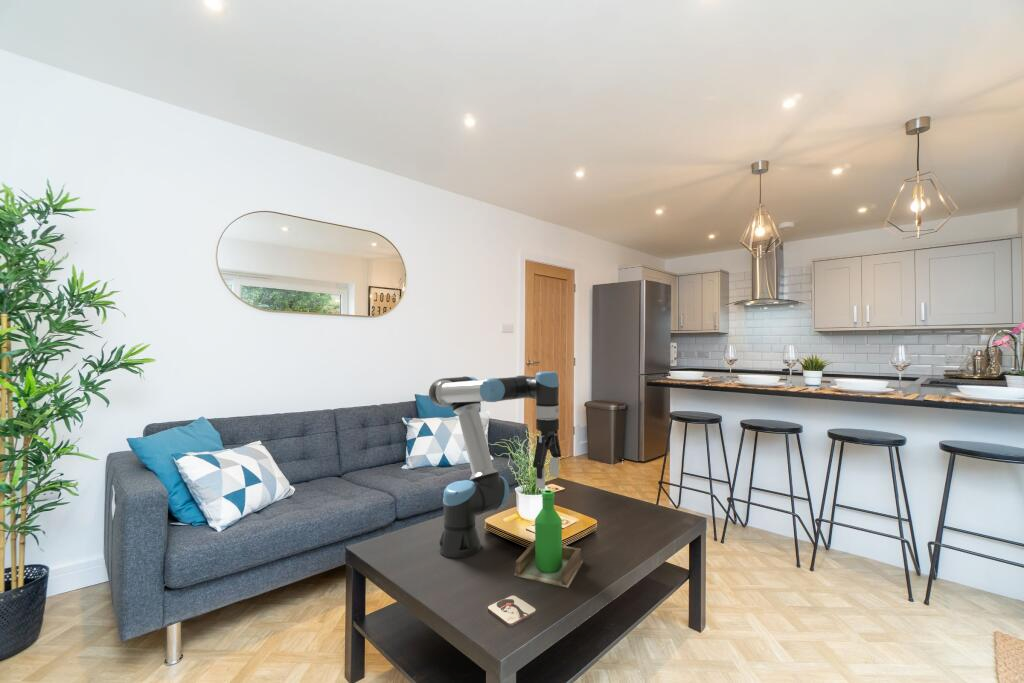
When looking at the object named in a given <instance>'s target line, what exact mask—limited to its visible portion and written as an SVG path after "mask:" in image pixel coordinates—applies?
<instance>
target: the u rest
mask: <svg viewBox="0 0 1024 683" xmlns="http://www.w3.org/2000/svg"><path fill="white" fill-rule="evenodd" d="M583 562H584V561H583V560H582V549H581V548H578V547H573V546H567V545H563V544H562V567H561V568H560V569H559V570H558V571H556V572H551V573H547V572H543V571H541V570H540V569H539V568H537V567H536V561H535V539H534V540H533V541H532V542H531V544H529V546H528V547H527V548H526V549H525V550H524V551H523V553H522V554H520V556H519V557H518V558H517V559H516V561H515V573H514V574H513V576H515V577H519V578H523V579H528V580H532V581H537V582H540V583H545V584H550V585H554V586H558V587H562V588H567V589H568V588H569V587H570V585H571V584H572V582H573V580H574V578H575V576H576V575H577V573H578V571H579V570H580V568H581V566H582V564H583Z"/></svg>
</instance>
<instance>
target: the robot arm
mask: <svg viewBox="0 0 1024 683" xmlns="http://www.w3.org/2000/svg"><path fill="white" fill-rule="evenodd" d="M559 392H560V383H559V374H558V373H557V372H556V371H546V370H545V371H544V370H543V371H536V374H535V376H530V375H529V376H527V375H515V376H511V377H499V378H497V377H493V378H486V379H485V378H483V379H477V378H476V377H475V376H459V377H457V376H455V377H444V378H439V379H436V380H435V381H434V382H433V383H432V384H431V385H430V387H429V390H428V397H429V399H430V401H431V403H433V405H435V406H436V407H437V406H438V407H441V408H448V407H449V408H451V407H452V411H453V413H454V414H456V415H457V416H458V420H459V424H460V429H461V433H462V437H463V440H464V444H465V450H466V454H467V457H468V461H469V466H470V470H471V476H470V478H469V480H468V479H464V480H457V481H456V480H455V481H454V482H451V483H449V484H448V485H446V487H444V490H443V498H442V503H443V530H442V532H441V535H440V539H439V543H438V552H439V553H440V554H441V555H442V556H444V557H447V558H452V559H460V558H461V559H463V558H467V557H470V556H474V555H475V554H477V553H478V552H479V551H481V539H480V537H479V536H480V535H479V533H478V532H479V531H478V530H477V529H478V528H477V527H476V526H477V525H476V519H477V518H476V517H478V516H479V515H483V514H486V513H490V512H492V511H495V510H496V511H497V510H498V509H501V508H503V507H504V506H506V504H507V503H508V500H509V498H510V486H509V483H508V481H507V480H506V478H505V477H504V476H501V475H500V473H499V470H498V469H496V468H494V465H493V460H492V458H491V454H490V453H491V452H490V450H489V446H488V445H489V444H488V442H487V436H486V434H485V430H484V426H483V423H482V421H483V420H482V418H481V415H480V408H481V406H482V403H481V402H486V403H497V402H503V401H511V400H519V399H534V400H535V417H536V420H535V423H536V425H535V426H536V430H537V431H539V432H540V435H537V436H536V443H535V444H536V446H535V451H534V458H533V464H532V468H534V469H535V480H536V482H535V488H536V489H543V490H544V489H545V490H546V468H545V463H546V459H547V455H548V450H549V453H550V455H551V457H549V458H550V459H549V461H550V467H549V468H550V471H549V472H550V477H555V478H559V474H560V473H559V468H560V465H559V461H560V460H559V459H560V458H561V457H562V451H561V446H560V440H559V431H558V430H559V428H560V419H559V414H560V411H561V409H560V408H559V407H560V406H559V404H560V403H559V398H560V397H559V396H560V395H559Z"/></svg>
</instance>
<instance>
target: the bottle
mask: <svg viewBox="0 0 1024 683" xmlns="http://www.w3.org/2000/svg"><path fill="white" fill-rule="evenodd" d="M541 497H542V498H541V499H542V502H541V503H542V508H541V510H540V511H539V513H538V514H537V516H536V517H535V519H534V533H535V534H534V540H535V561H536V567H537V568H539V569H540V570H541V571H543V572H547V573H551V572H556V571H558V570H559V569H560V568H561V567H562V545H563V528H562V527H563V519H562V518H561V517H560V515H559V513H558V512H557V510H556V509H555V491H554V490H550V489H545V490H543V491H542V492H541Z"/></svg>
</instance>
